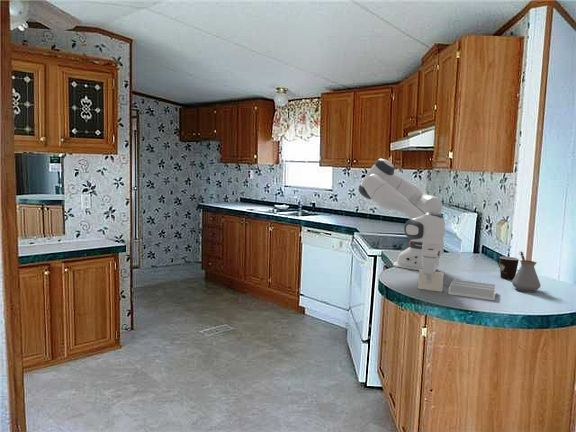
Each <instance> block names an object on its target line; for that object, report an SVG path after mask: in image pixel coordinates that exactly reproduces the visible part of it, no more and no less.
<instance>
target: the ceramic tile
mask: <svg viewBox="0 0 576 432" xmlns="http://www.w3.org/2000/svg"><path fill="white" fill-rule="evenodd" d="M444 274H445V273H444V272H443V271H442V272H441V271H436V272H434V273H433V274H432V278H431V279H432V281H431V284H427V278H426V275H425V274H424V272H423V270H418V283H417V284H418V285H417V288H419V290H425V289H426V290H427V291H435V292H440V293H441V292H443V288H444Z"/></svg>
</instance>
